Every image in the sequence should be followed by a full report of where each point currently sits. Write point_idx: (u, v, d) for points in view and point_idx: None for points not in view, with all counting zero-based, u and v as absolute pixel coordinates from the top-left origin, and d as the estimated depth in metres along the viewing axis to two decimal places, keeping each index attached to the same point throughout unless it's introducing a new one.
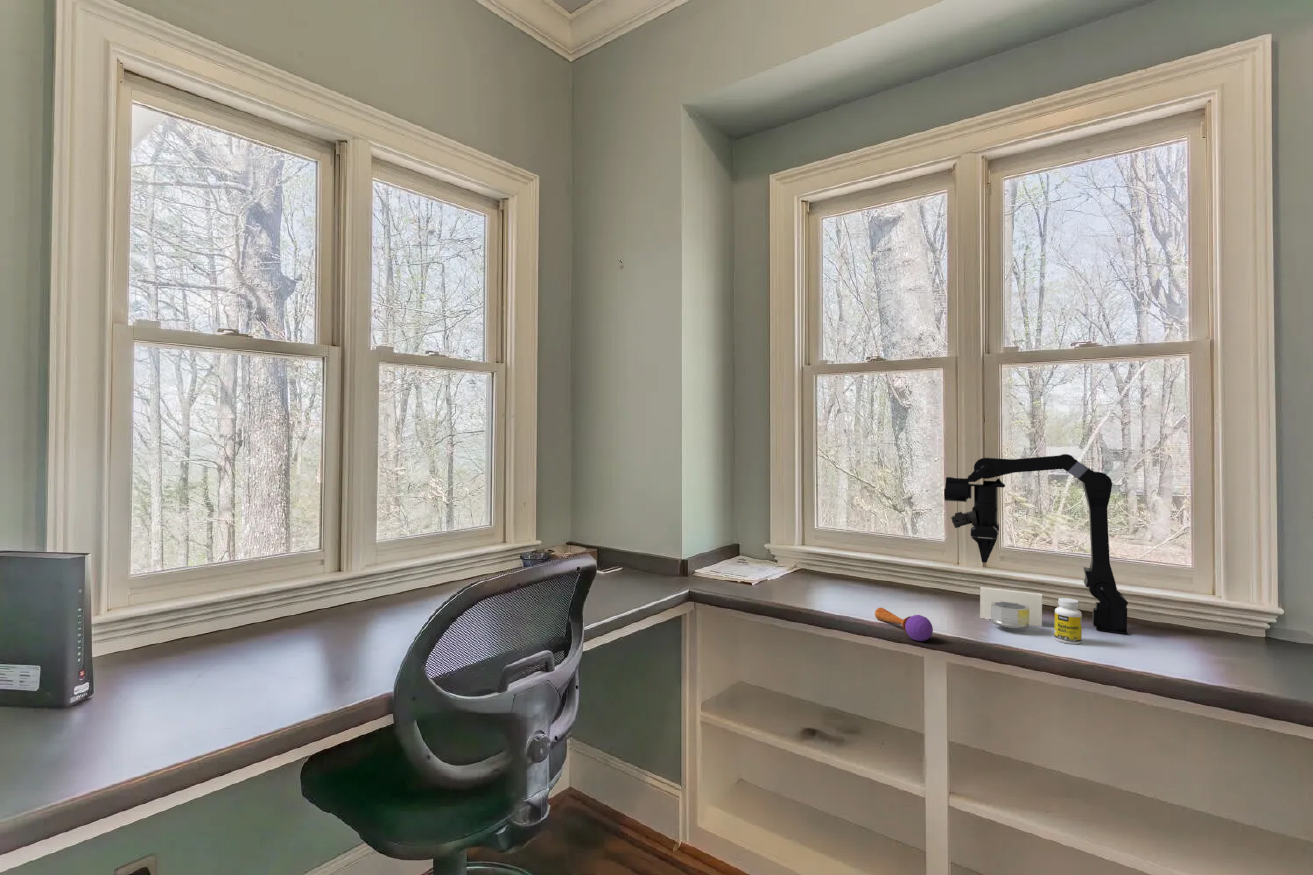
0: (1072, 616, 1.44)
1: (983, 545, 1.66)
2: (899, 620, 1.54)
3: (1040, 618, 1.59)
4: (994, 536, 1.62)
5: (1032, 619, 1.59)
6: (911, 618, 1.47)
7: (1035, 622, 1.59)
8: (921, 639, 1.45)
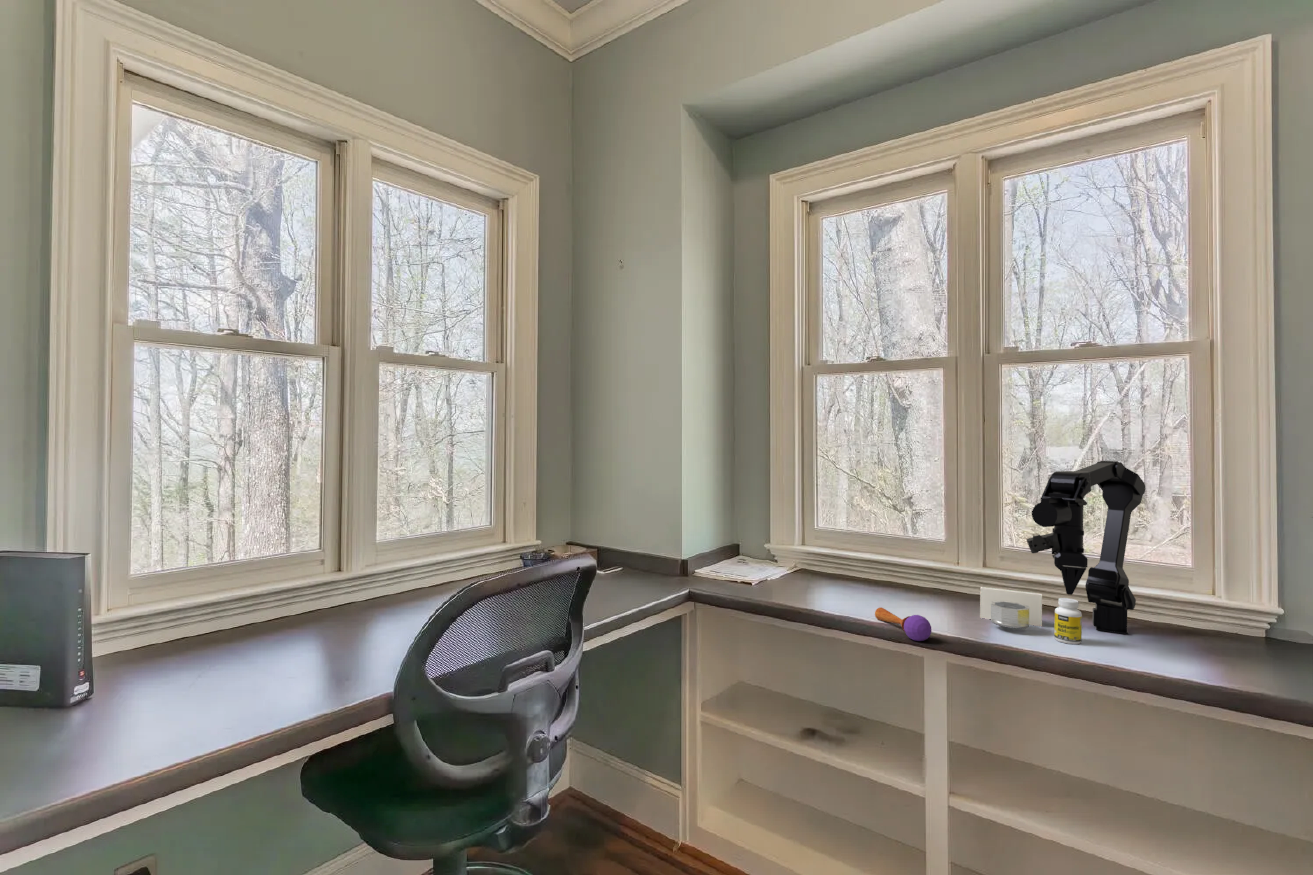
0: (1072, 616, 1.44)
1: (1069, 574, 1.42)
2: (898, 620, 1.54)
3: (1040, 618, 1.59)
4: (1084, 565, 1.38)
5: (1032, 619, 1.59)
6: (910, 618, 1.47)
7: (1035, 622, 1.59)
8: (919, 639, 1.45)
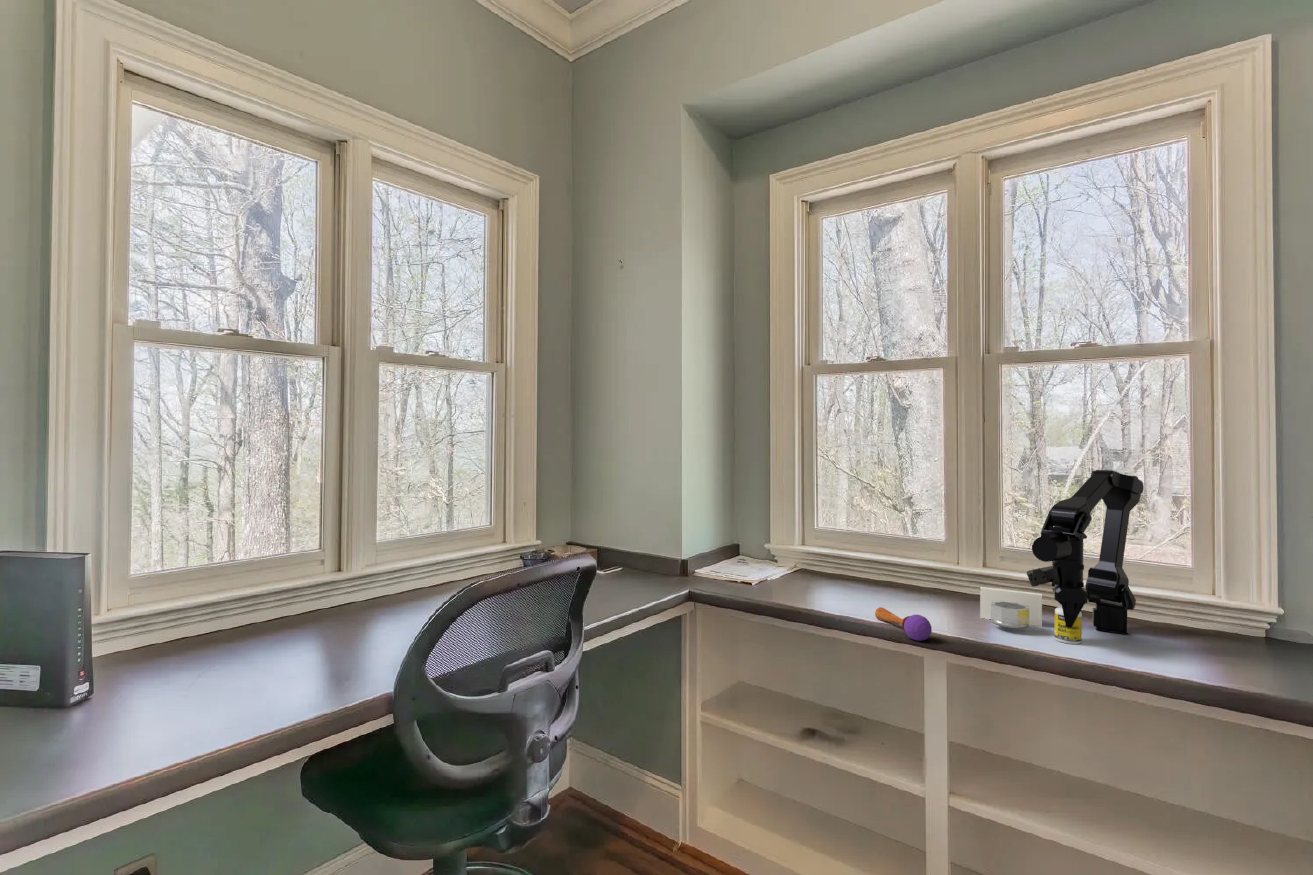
0: None
1: (1068, 607, 1.44)
2: (898, 620, 1.54)
3: (1040, 618, 1.59)
4: (1084, 601, 1.38)
5: (1032, 619, 1.59)
6: (910, 618, 1.47)
7: (1035, 622, 1.59)
8: (920, 639, 1.45)
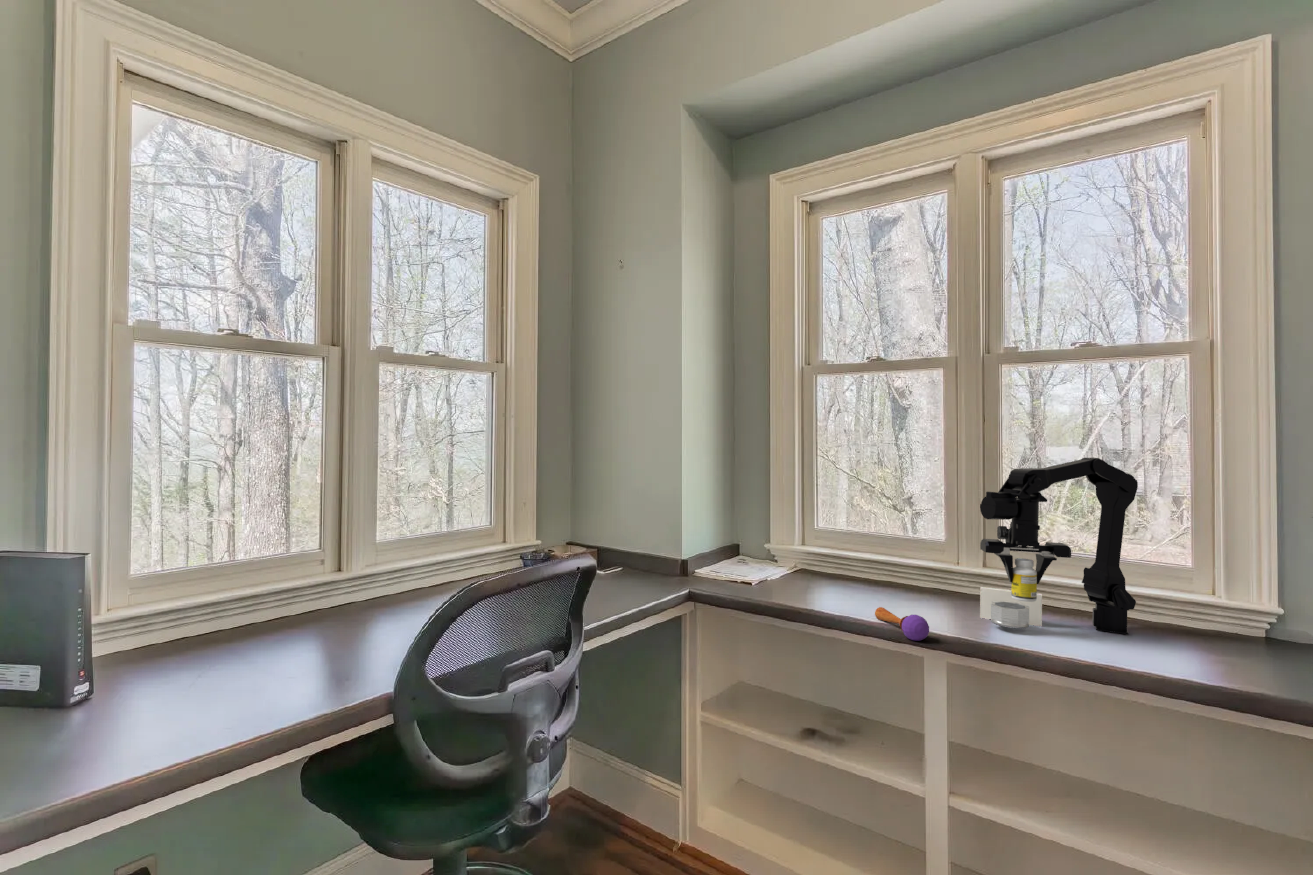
0: (1013, 572, 1.53)
1: (1005, 562, 1.55)
2: (897, 620, 1.54)
3: (1040, 618, 1.59)
4: (986, 550, 1.53)
5: (1032, 619, 1.59)
6: (907, 617, 1.47)
7: (1035, 622, 1.59)
8: (917, 639, 1.45)
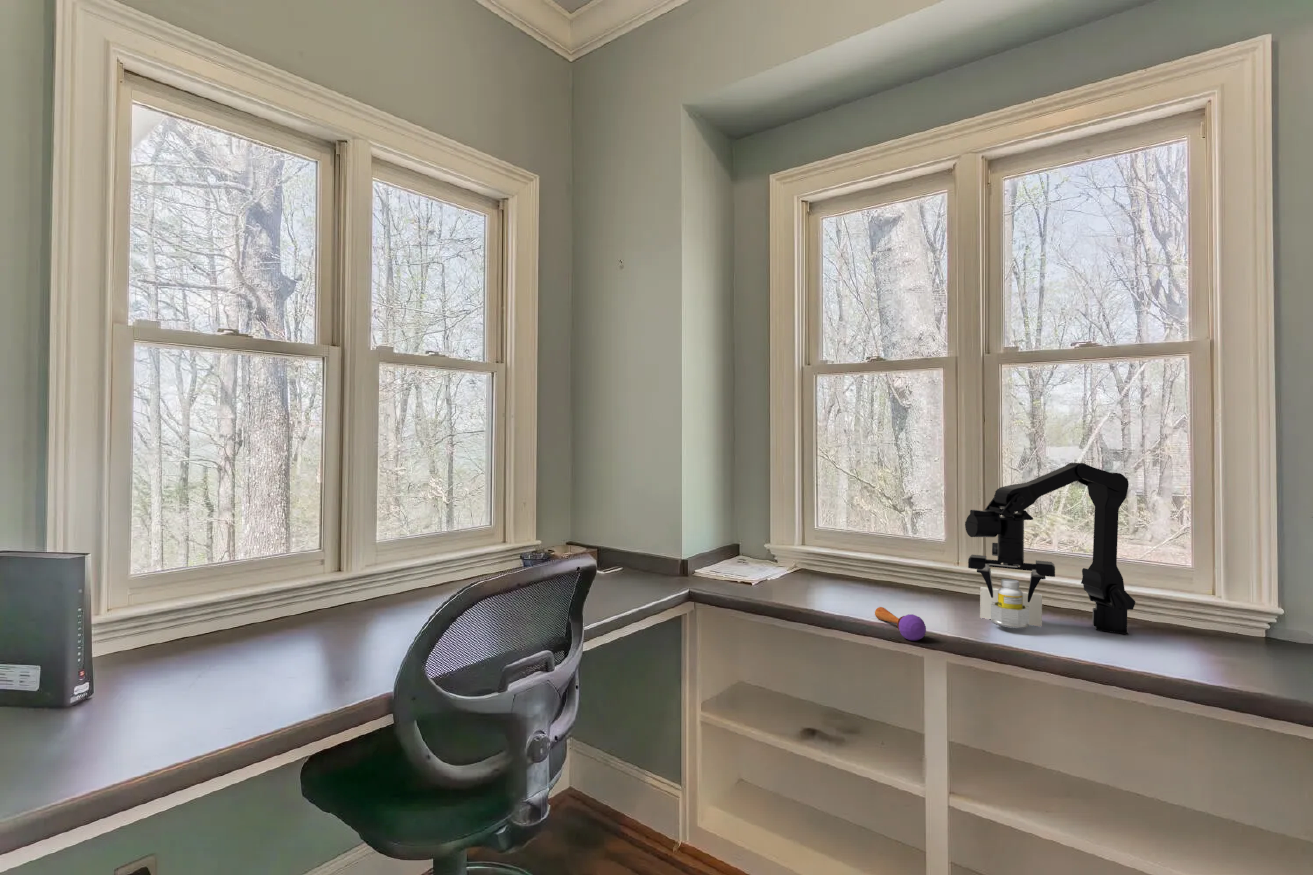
0: (998, 592, 1.56)
1: None
2: (895, 619, 1.54)
3: (1040, 618, 1.59)
4: (968, 566, 1.58)
5: (1032, 619, 1.59)
6: (904, 617, 1.47)
7: (1035, 622, 1.59)
8: (913, 638, 1.45)
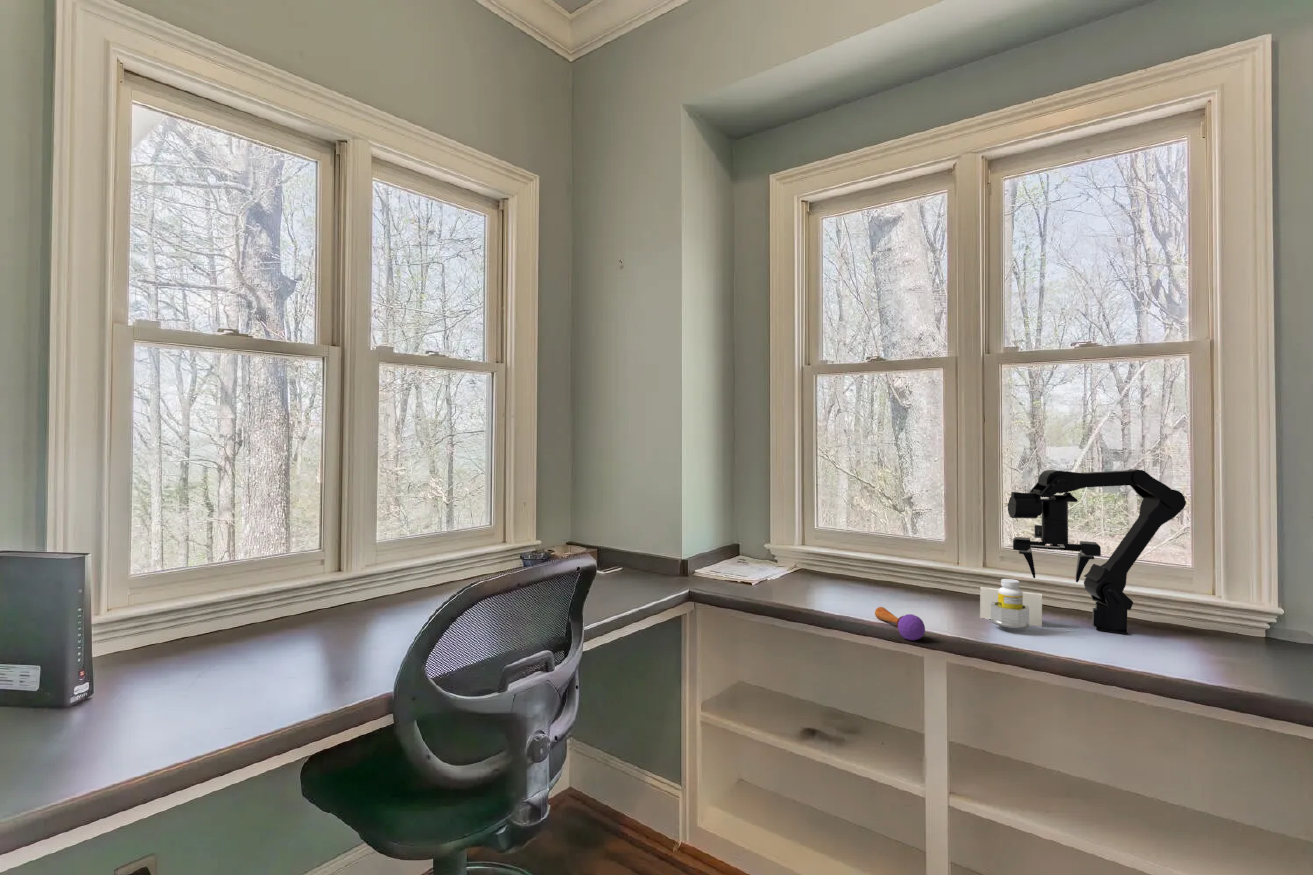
0: (998, 592, 1.56)
1: None
2: (895, 619, 1.54)
3: (1040, 618, 1.59)
4: (1013, 548, 1.62)
5: (1032, 619, 1.59)
6: (903, 617, 1.47)
7: (1035, 622, 1.59)
8: (912, 638, 1.45)
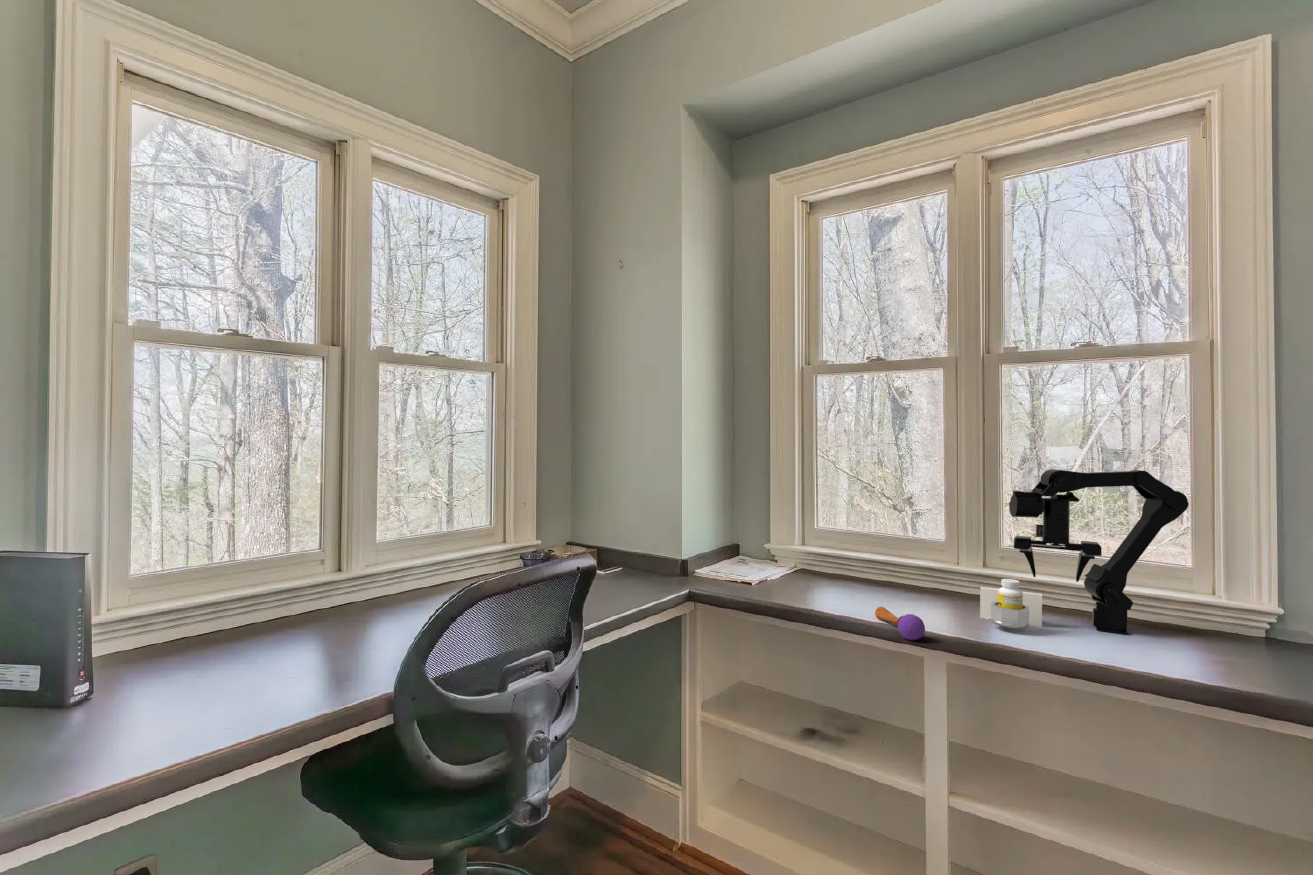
0: (998, 592, 1.56)
1: None
2: (895, 619, 1.54)
3: (1040, 618, 1.59)
4: (1014, 546, 1.62)
5: (1032, 619, 1.59)
6: (903, 617, 1.47)
7: (1035, 622, 1.59)
8: (912, 638, 1.45)
